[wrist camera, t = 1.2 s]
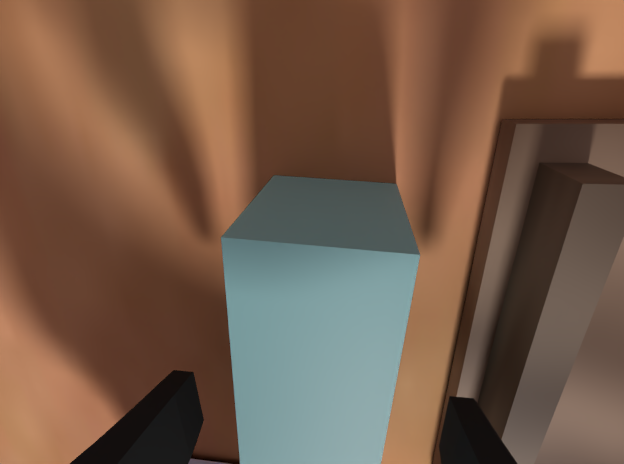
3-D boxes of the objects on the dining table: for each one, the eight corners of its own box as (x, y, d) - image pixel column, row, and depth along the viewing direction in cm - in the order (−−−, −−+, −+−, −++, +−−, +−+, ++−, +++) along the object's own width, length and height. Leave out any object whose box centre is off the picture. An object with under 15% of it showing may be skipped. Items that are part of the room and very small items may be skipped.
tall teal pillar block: (360, 432, 16) (361, 568, 12) (277, 420, 17) (247, 548, 12) (396, 182, 11) (420, 255, 7) (275, 173, 12) (221, 237, 7)
